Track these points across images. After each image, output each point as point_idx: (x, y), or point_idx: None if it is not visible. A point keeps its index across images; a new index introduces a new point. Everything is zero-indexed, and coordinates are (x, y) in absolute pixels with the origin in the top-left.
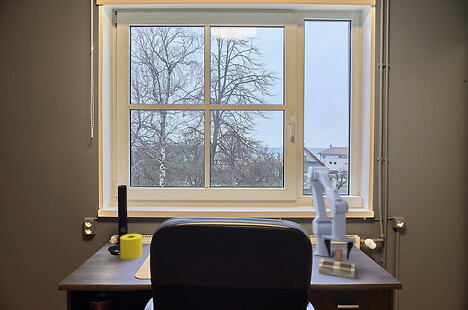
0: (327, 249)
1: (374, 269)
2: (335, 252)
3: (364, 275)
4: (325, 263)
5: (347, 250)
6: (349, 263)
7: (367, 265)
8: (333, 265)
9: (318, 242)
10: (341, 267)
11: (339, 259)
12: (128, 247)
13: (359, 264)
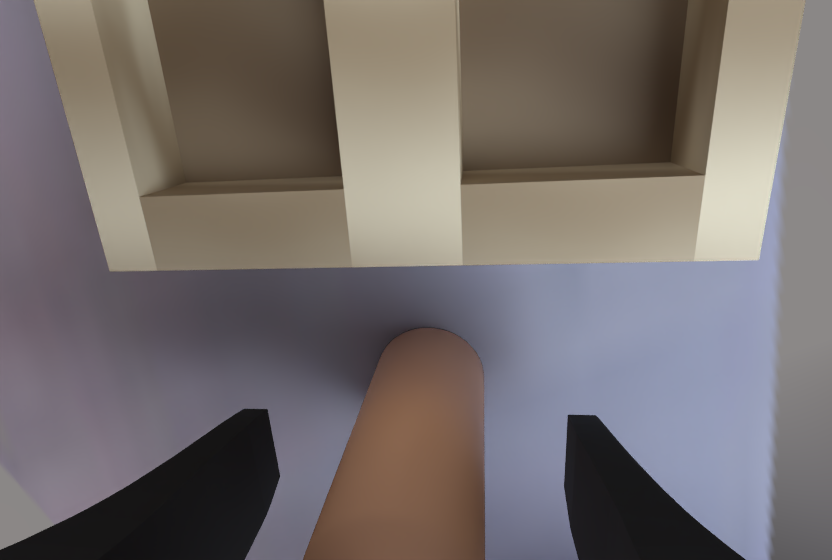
0: (687, 519)
1: (3, 390)
2: (465, 492)
3: (28, 129)
4: (642, 170)
5: (135, 522)
6: (194, 261)
7: (104, 479)
8: (480, 171)
9: None
10: (341, 175)
11: (393, 387)
12: None
13: None
